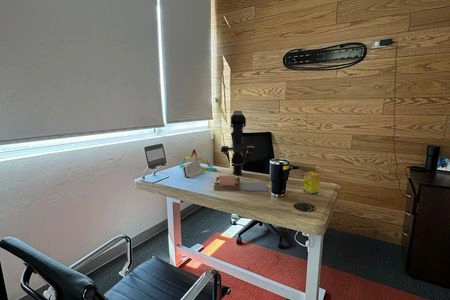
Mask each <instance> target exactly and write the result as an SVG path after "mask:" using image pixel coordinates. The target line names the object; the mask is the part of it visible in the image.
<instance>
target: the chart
mask: <svg viewBox="0 0 450 300" xmlns="http://www.w3.org/2000/svg"><path fill="white" fill-rule="evenodd" d="M193 157H194V159H195V162H199V161H200V162H201V163H202V164H203V163H206V165H207V167H205V166H201V168H202V169H203V170H204V172H205V171H206V172H214V173H215V172H217V168H214V167H216V166H217V165H216V164H215V165H210V162H209V161H208V159H206V160H204V159H203V158H202V157H198V154H197V152H196V149H193V150H192V151H191V155H190V157H189V156H185V157H184V159H183V161H179V168H181V169H182V168H183V166H184V165H185V162H186V160H188V159H191V158H193Z"/></svg>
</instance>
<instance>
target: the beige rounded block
mask: <svg viewBox="0 0 450 300" xmlns="http://www.w3.org/2000/svg"><path fill="white" fill-rule="evenodd" d="M183 165H184V166H183V168H181V169H182V174H183V177H184V178H188V177H189V179H192V178H195V177H197V176H199V175H202V174H203V173H205V171H204V170H203V169H202V168H201V167H202V166H201V163H200V162H199V161H189V162H187V163H186V164H183Z"/></svg>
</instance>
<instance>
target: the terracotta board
mask: <svg viewBox="0 0 450 300" xmlns="http://www.w3.org/2000/svg"><path fill="white" fill-rule="evenodd" d="M218 177H219V185H229V186H235V177H236V175H233V174H219V176H218Z"/></svg>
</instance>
